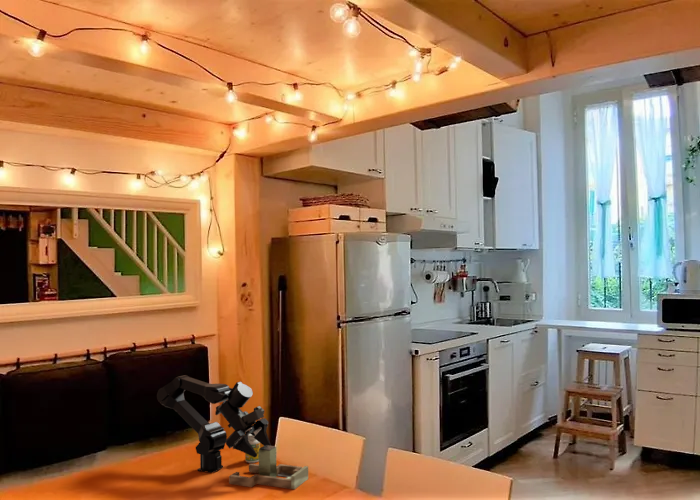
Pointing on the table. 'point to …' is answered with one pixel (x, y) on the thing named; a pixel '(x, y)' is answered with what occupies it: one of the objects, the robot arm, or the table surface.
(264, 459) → the olive tin
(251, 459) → the supplement bottle
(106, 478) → the table surface
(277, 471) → the trap lane
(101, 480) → the table surface
